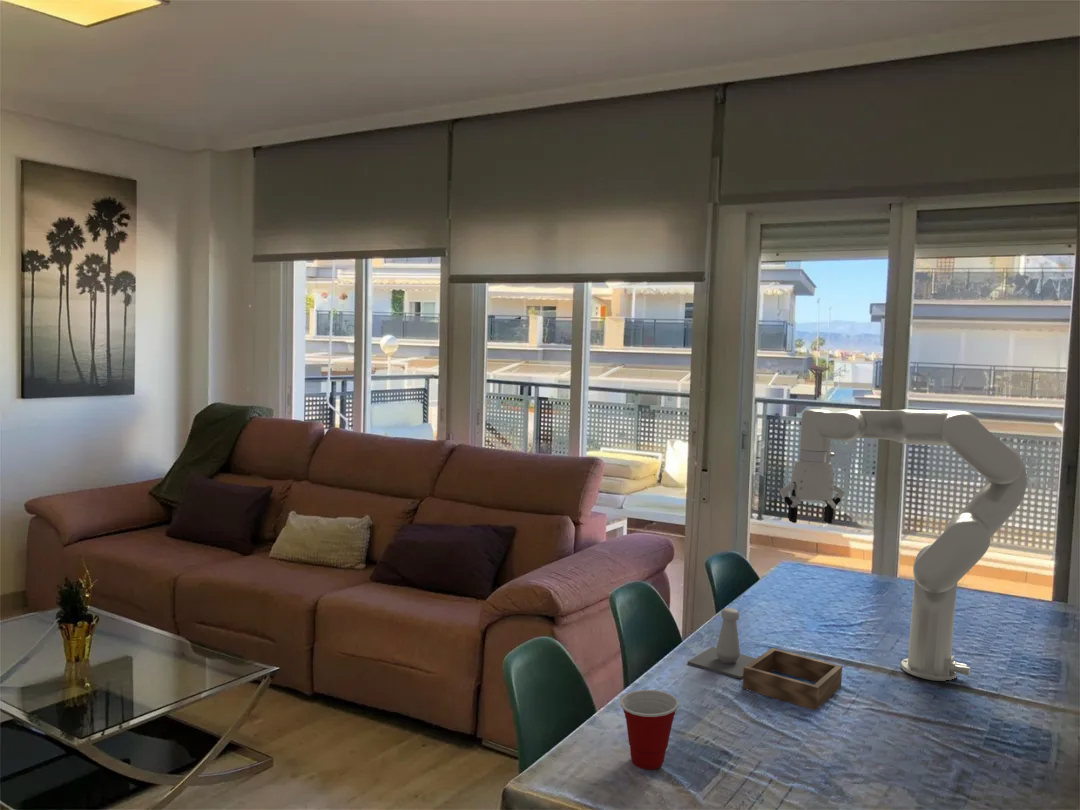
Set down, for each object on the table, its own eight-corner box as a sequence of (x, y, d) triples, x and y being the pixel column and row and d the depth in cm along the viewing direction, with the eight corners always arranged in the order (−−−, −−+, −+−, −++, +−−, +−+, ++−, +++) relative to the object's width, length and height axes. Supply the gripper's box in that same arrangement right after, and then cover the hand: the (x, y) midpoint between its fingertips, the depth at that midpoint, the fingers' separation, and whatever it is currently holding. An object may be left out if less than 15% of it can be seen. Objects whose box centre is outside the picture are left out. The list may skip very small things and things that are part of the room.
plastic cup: (612, 748, 164) (615, 687, 163) (667, 748, 165) (671, 687, 164) (622, 777, 153) (625, 712, 152) (681, 777, 154) (685, 712, 153)
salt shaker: (739, 666, 207) (742, 614, 206) (715, 663, 208) (718, 611, 207) (738, 658, 213) (741, 607, 212) (715, 655, 214) (718, 604, 213)
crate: (840, 686, 198) (842, 666, 198) (816, 710, 185) (817, 688, 185) (770, 667, 209) (772, 647, 208) (742, 688, 195) (743, 667, 195)
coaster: (764, 662, 212) (764, 660, 212) (741, 679, 201) (741, 676, 200) (712, 648, 220) (712, 646, 220) (687, 663, 209) (687, 661, 209)
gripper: (838, 455, 225) (834, 519, 227) (776, 454, 223) (772, 518, 224) (853, 459, 218) (848, 525, 219) (789, 458, 216) (784, 525, 217)
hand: (810, 522), depth 222 cm, fingers open, 9 cm apart
